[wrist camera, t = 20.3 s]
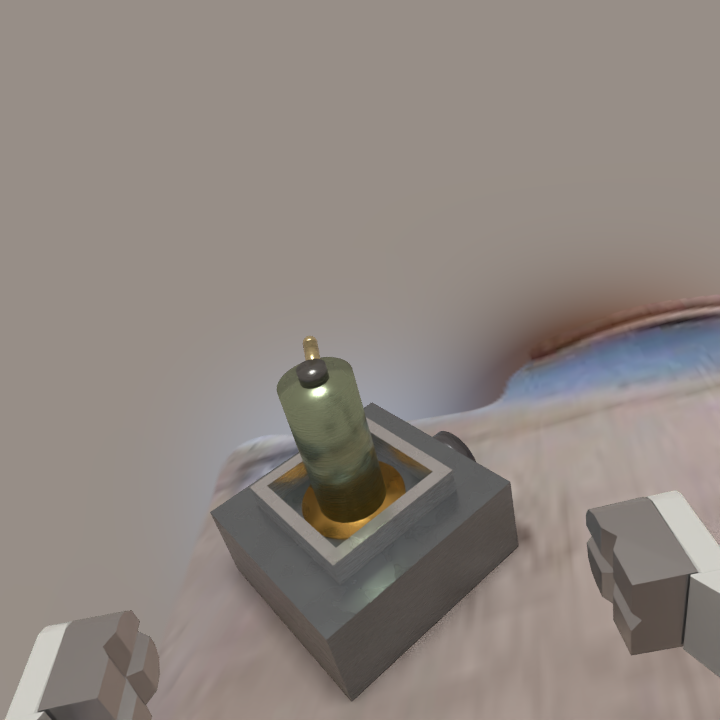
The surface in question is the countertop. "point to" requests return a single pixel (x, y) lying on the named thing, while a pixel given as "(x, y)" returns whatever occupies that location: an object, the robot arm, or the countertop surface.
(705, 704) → the countertop surface
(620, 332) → the countertop surface
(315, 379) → the spout can
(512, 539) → the gearbox housing
